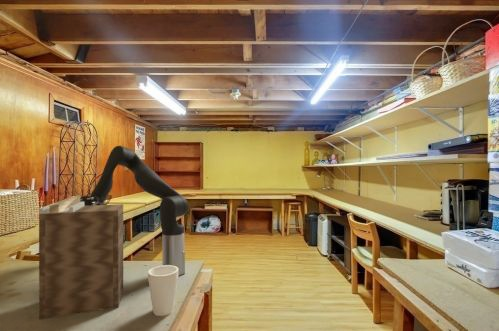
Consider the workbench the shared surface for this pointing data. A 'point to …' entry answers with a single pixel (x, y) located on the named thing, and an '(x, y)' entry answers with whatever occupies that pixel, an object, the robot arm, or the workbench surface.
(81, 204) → the trough
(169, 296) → the foam cup
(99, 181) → the robot arm
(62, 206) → the beige wooden rod
